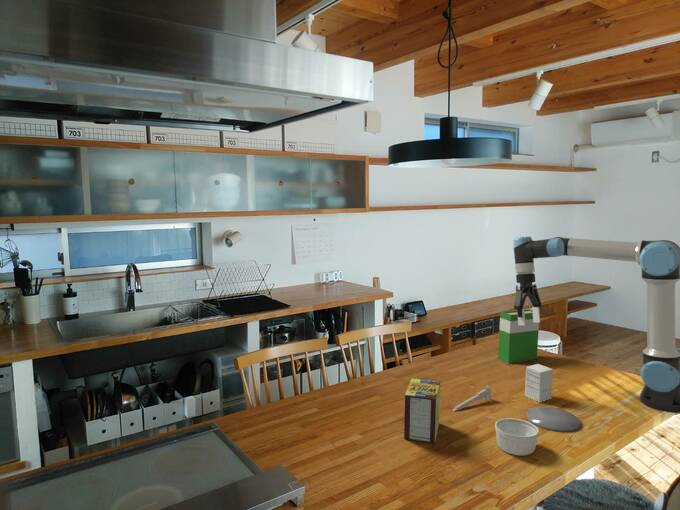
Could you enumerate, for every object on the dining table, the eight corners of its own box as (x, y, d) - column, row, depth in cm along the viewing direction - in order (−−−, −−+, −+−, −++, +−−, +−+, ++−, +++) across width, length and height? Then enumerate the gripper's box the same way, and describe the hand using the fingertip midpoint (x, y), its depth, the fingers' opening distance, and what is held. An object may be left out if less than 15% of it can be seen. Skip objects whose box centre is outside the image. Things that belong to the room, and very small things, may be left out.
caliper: (488, 399, 194) (489, 384, 194) (490, 400, 194) (491, 385, 193) (452, 411, 183) (452, 395, 183) (454, 412, 182) (455, 396, 182)
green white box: (526, 355, 249) (528, 309, 246) (536, 359, 242) (539, 312, 240) (498, 358, 243) (500, 311, 240) (508, 363, 236) (510, 315, 233)
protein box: (439, 423, 173) (440, 381, 171) (435, 444, 158) (436, 398, 157) (410, 419, 176) (411, 377, 174) (403, 439, 161) (404, 394, 160)
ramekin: (503, 433, 166) (504, 414, 165) (543, 446, 158) (544, 425, 157) (487, 448, 156) (488, 428, 155) (529, 463, 147) (530, 441, 147)
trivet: (585, 418, 178) (585, 415, 178) (573, 437, 164) (573, 434, 163) (534, 405, 189) (534, 402, 188) (519, 421, 174) (519, 419, 174)
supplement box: (536, 393, 200) (538, 363, 199) (551, 399, 194) (553, 369, 193) (523, 396, 197) (525, 366, 196) (539, 403, 191) (540, 372, 189)
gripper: (530, 273, 217) (534, 321, 216) (502, 274, 200) (506, 326, 199) (546, 272, 212) (551, 321, 210) (519, 273, 195) (524, 326, 193)
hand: (529, 323), depth 205 cm, fingers open, 13 cm apart
